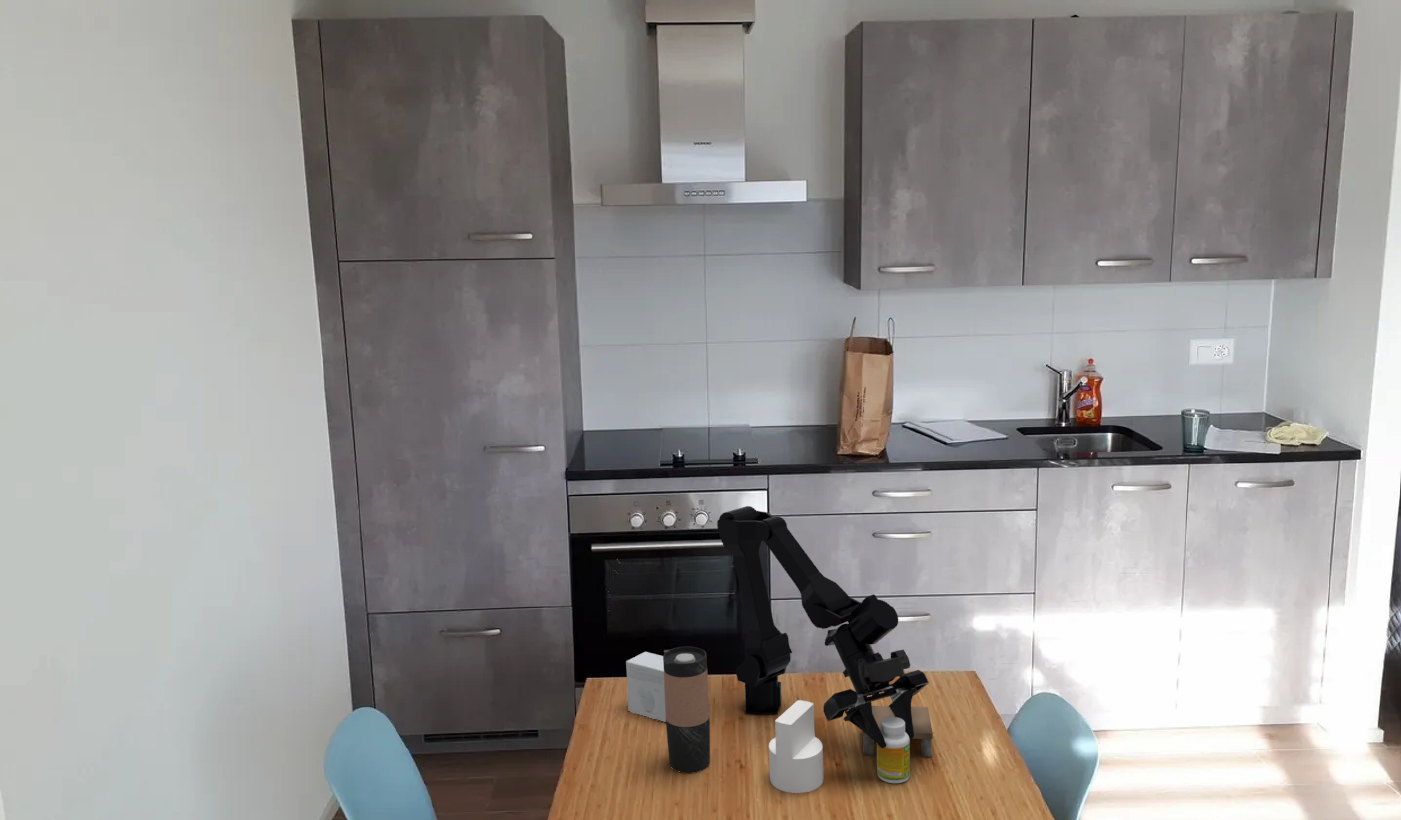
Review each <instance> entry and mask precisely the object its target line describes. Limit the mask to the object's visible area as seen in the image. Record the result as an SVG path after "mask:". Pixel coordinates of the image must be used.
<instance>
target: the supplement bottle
mask: <svg viewBox="0 0 1401 820" xmlns="http://www.w3.org/2000/svg"><path fill="white" fill-rule="evenodd" d="M881 733H882V735H883V737H884V740H885V743H886V747H885V748H881V747H880V746H879V745H878V744H877V743H876V766H877V767H876V771H877V772H876V773H877V776H878V778H879V779H880V780H882V781H884V782H885V783H889V784H902V783H905V782H907V781H908V780H909V778H910V775H911V773H910V772H911V770H910V769H911V766H910V765H911V764H910V762H911V761H910V760H911V759H910V758H911V754H910V745H911V744H910V743H911V741H910V739H909V736H908V734H907V733H906V732H905V721H904V720H902V719H901V718H898V717H886V718H883V719H882V720H881Z"/></svg>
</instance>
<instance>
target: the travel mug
mask: <svg viewBox="0 0 1401 820" xmlns="http://www.w3.org/2000/svg"><path fill="white" fill-rule="evenodd" d="M662 656H663V663H664V689H665V715H666V723H665V726H666V728H665V729H666V737H667V749H668V751H667V752H668V753H667V754H668V760H669V761H668V762H669V767H670V768H671V767H672V768H673V769H672V768H671V769H672V770H674V771H675V770H676V772H678V771H680V772H679V773H681V772H685V773H684V774H693V773H692V772H695V773H698V771H699V772H701V771H700V770H702V771H703V769H704V770H705V769H707V768H708V767H709V766H710V762H711V738H710V737H711V736H710V735H711V732H710V731H711V729H710V728H711V727H710V723H711V722H710V719H711V718H710V700H709V699H710V696H709V678H708V662H707V659H708V658H707V652H706V651H705V650H704V649H702V648H699V647H695V646H678V647H674V648H671V649H668V650H667V651H665V652H664V654H663V655H662ZM706 767H707V768H706Z"/></svg>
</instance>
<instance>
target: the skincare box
mask: <svg viewBox="0 0 1401 820" xmlns="http://www.w3.org/2000/svg"><path fill="white" fill-rule="evenodd" d="M663 656H664V655H659V654H656V653H651V652H648V651H644V652H642V653H640V654H638V655H636V656H635V657H632V658H630V659H627V660H626V661H625V665H626V666H625V667H626V682H627V702H628V705H627V706H628V707H627V708H628V709H627V710H628V711H631V712H634V713H637V714H640V715H639V716H641V715H643V716H642V717H644V716H647V717H646V718H648V717H649V718H648V719H651V718H652V719H651V720H654V719H658V720H661V721H664V722H666V715H665V689H664V663H663ZM634 713H633V714H634ZM637 714H636V715H637ZM658 720H657V721H658ZM661 721H660V722H661ZM664 722H663V723H664Z"/></svg>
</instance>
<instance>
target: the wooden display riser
mask: <svg viewBox="0 0 1401 820" xmlns="http://www.w3.org/2000/svg"><path fill="white" fill-rule="evenodd" d="M872 714H873V716H874V718H875V720H876V722H877V724H878V727H879V729H880V731H881V720H882V719H883V718H886V717H895V715H894V714H893V712H892V710H891V709H890V707H889V705H872ZM911 714H912V722H913V730H914V738H913V739H920V752H921V753H920V755H921V756H922V757H923V758H930V757H932V756H933V753H932V748H933V747H932V746H933V745H932V744H933V743H932V741H933V739H934V737H933V736H934V735H933V734H934V733H933V727H932V722H931V717H930V710H929V707H928V706H911ZM861 732H862V751H863V752H862V753H863V755H864V756H873V755H874V741H873V740H872V739H871V738H870V737H869V736H868V735H867V734H865V733H864V732H863V731H862V730H861Z"/></svg>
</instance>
